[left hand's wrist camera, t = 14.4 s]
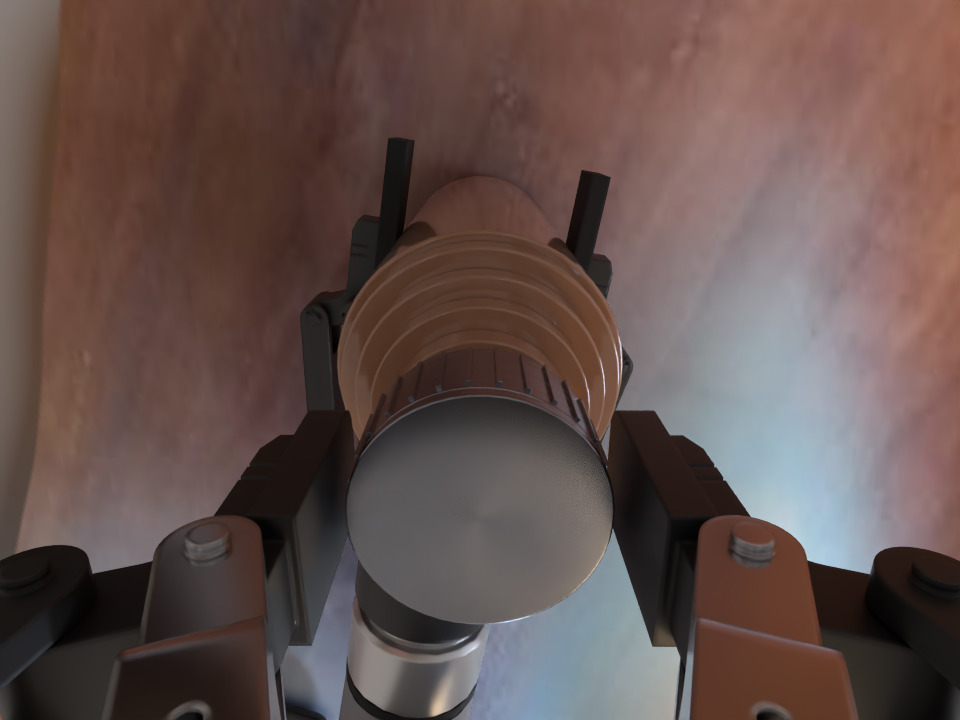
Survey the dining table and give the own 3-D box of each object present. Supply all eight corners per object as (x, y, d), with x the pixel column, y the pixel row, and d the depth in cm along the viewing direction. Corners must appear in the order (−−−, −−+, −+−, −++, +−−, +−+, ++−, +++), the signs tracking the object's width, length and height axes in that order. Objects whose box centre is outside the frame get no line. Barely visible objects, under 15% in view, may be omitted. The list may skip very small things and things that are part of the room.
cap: (351, 530, 13) (326, 606, 11) (380, 323, 11) (358, 367, 9) (564, 564, 13) (580, 644, 11) (621, 368, 11) (652, 419, 9)
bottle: (401, 300, 34) (245, 640, 11) (422, 162, 32) (276, 248, 9) (532, 324, 35) (632, 697, 12) (563, 191, 32) (765, 340, 9)
